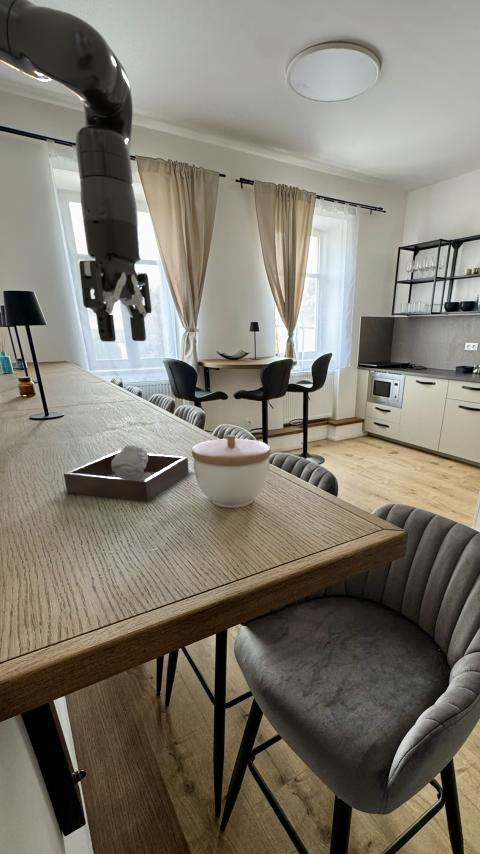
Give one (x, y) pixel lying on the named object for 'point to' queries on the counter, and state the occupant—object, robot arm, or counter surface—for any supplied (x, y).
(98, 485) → the square wooden tray
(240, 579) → the counter surface
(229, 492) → the lidded bowl
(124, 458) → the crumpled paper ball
